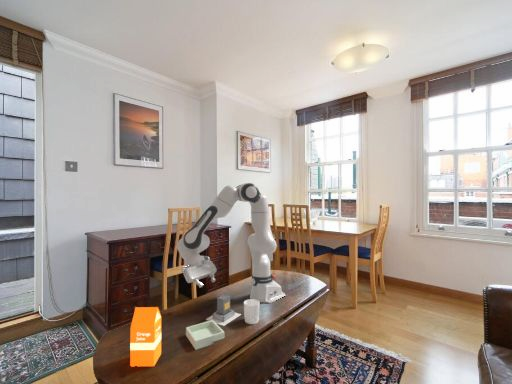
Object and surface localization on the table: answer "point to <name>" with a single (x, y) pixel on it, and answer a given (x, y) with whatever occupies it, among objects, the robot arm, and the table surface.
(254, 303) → the white cup
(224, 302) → the gray rectangular block
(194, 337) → the sage tray
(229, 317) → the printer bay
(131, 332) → the orange juice
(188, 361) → the table surface
